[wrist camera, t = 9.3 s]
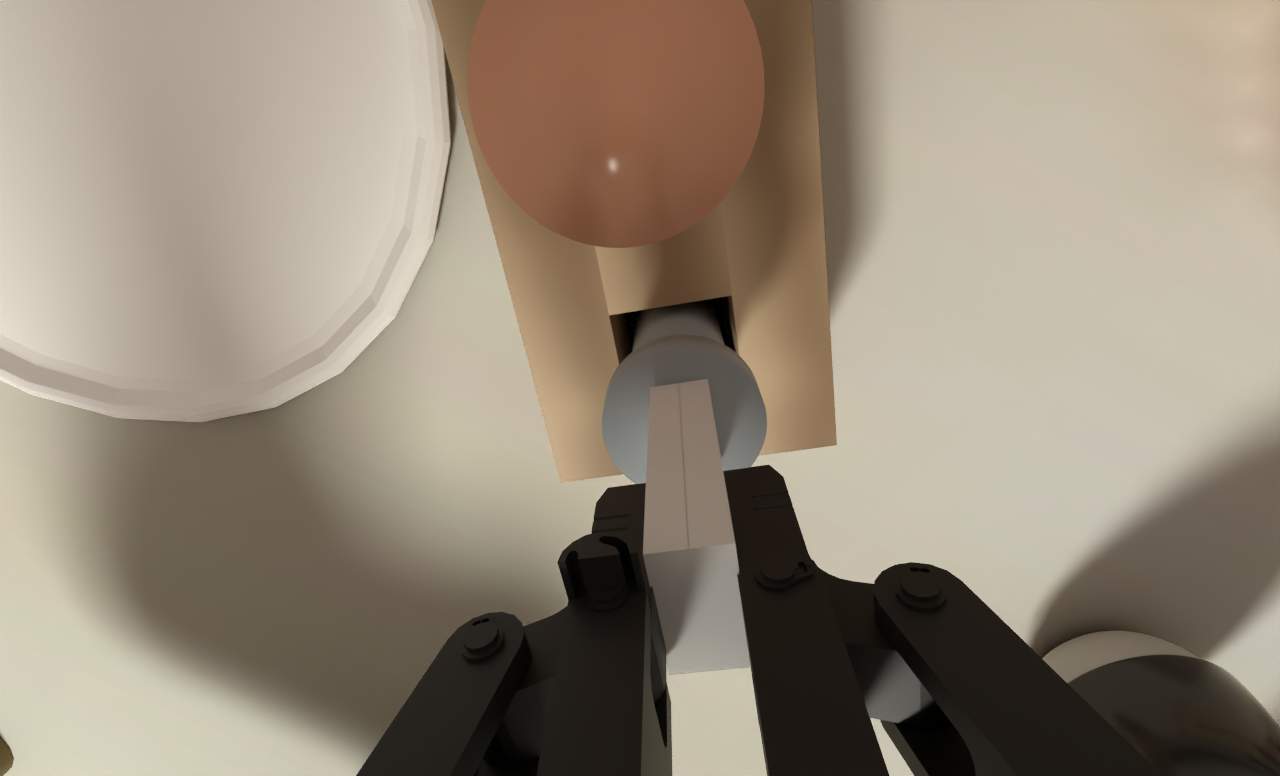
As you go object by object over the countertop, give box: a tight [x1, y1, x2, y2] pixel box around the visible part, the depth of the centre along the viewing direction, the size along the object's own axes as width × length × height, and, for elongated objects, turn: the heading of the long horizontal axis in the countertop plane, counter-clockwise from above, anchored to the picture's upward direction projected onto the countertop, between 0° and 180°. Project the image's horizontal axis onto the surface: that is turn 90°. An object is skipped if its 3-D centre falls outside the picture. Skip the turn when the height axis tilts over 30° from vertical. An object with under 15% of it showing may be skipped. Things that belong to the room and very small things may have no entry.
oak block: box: [431, 0, 837, 483], centre depth 20 cm, size 10×24×6 cm, turn 10°
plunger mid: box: [467, 0, 765, 248], centre depth 14 cm, size 4×4×10 cm
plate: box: [0, 0, 451, 423], centre depth 23 cm, size 29×29×1 cm
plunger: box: [602, 299, 767, 484], centre depth 21 cm, size 4×4×10 cm
